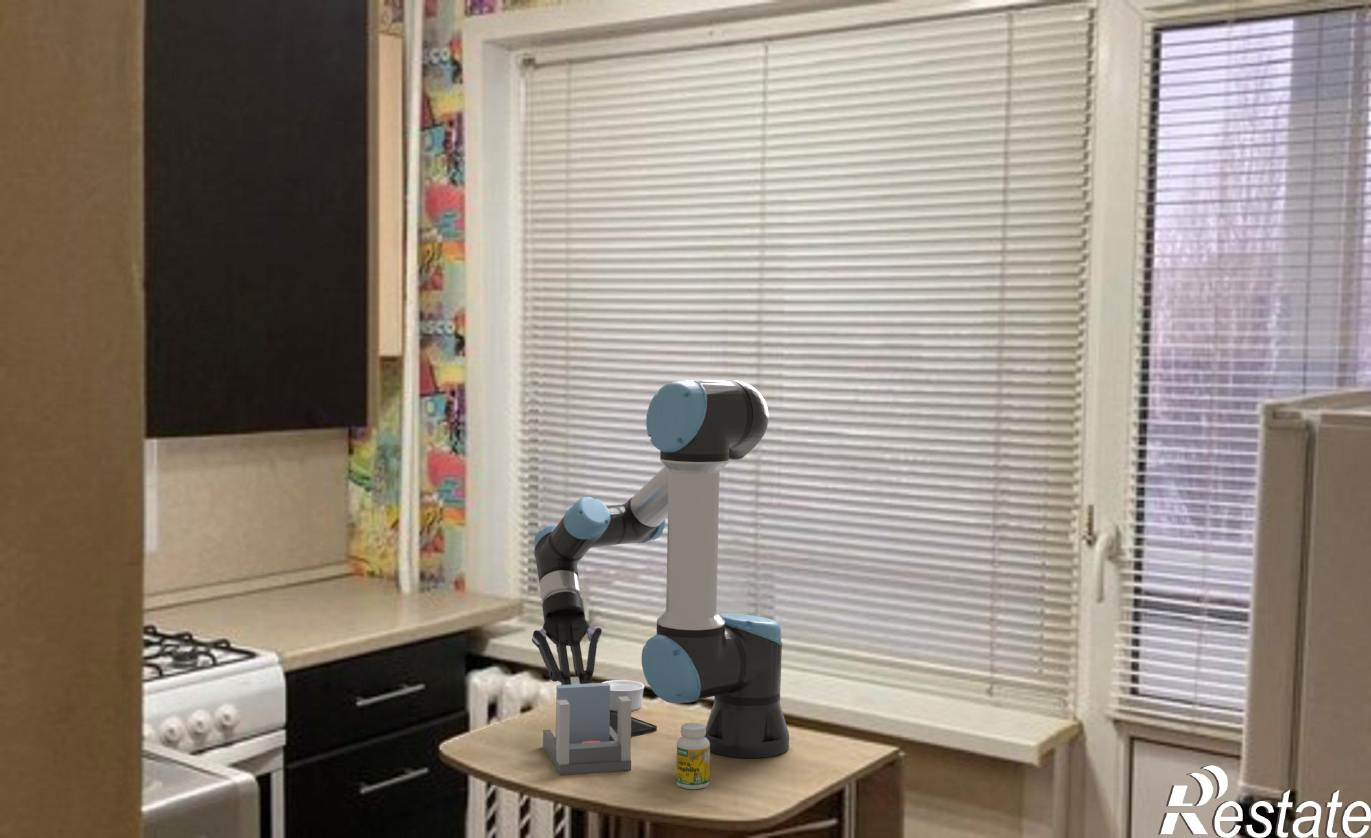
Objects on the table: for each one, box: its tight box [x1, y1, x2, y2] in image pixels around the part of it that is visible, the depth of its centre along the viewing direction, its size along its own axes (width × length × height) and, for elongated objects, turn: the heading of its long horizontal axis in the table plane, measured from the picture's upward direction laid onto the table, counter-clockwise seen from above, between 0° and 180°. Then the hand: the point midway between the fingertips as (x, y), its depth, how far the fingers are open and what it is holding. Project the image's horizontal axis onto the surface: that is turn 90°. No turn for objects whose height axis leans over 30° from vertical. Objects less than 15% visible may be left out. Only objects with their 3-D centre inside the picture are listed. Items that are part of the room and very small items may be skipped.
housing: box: [542, 696, 632, 776], centre depth 233 cm, size 16×12×12 cm
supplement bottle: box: [675, 722, 711, 790], centre depth 220 cm, size 5×5×10 cm
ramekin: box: [601, 679, 645, 712], centre depth 267 cm, size 9×9×4 cm
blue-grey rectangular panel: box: [555, 682, 610, 744], centre depth 236 cm, size 2×9×10 cm, turn 106°
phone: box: [610, 710, 658, 738], centre depth 254 cm, size 8×1×15 cm
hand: (578, 712), depth 240 cm, fingers closed
